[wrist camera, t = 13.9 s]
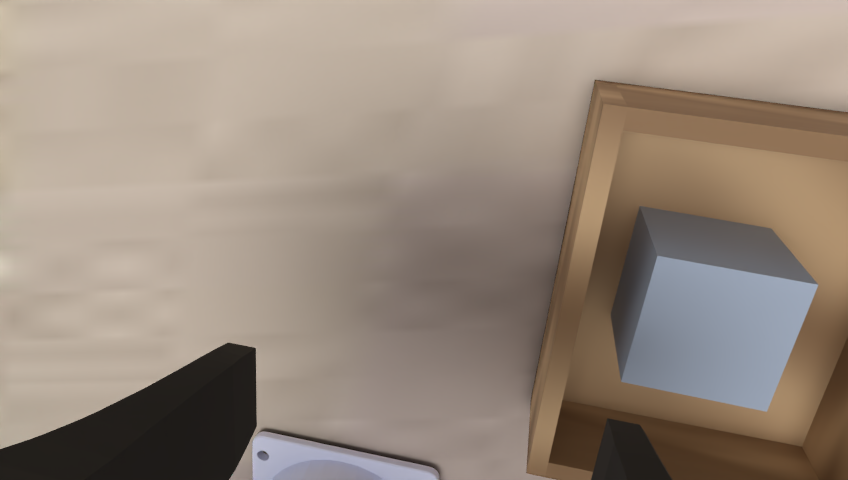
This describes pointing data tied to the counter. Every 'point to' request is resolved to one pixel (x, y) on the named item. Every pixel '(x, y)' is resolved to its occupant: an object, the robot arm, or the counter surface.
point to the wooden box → (714, 198)
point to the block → (708, 308)
